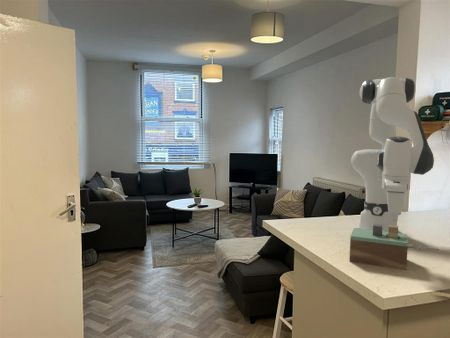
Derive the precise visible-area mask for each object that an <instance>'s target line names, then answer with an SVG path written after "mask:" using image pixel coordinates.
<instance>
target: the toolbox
mask: <svg viewBox="0 0 450 338" xmlns="http://www.w3.org/2000/svg"><path fill="white" fill-rule="evenodd" d="M349 240H350V243H349V262H350V263H356V264H357V263H358V264H364V265H370V266H378V267H384V268H389V269H396V270H403V271H407V267H408V266H407V264H408V250H409V249H408V247H407V246H399V245H391V244H383V243H375V242H368V241H360V240H352V239H349Z"/></svg>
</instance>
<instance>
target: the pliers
mask: <svg viewBox="0 0 450 338" xmlns="http://www.w3.org/2000/svg"><path fill="white" fill-rule="evenodd" d="M426 249H427V250H435V249H436V251H440V248H438V247H437V248H436V247H431V246H421V245H419V246H415V244H412V243H408V250H418V251H421V250H426Z"/></svg>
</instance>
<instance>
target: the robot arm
mask: <svg viewBox="0 0 450 338" xmlns="http://www.w3.org/2000/svg"><path fill="white" fill-rule="evenodd" d="M359 88H360V89H359V97H360V99H361V100H360V101H361V102H363V104H367V105H370V104H371V109H370V115H369V130H368V135H369V138H370V139H371V140H373V141H374V142H377V143H379V144H380V145H381V148H380V149H369V148H368V149H360V150H355V151H354V152H353V154H352V156H351V158H350V163H351V167H352V169H354V171H355V172H357V173H358V174H359V175H360V177H361V178H362V180H363V181H364V186H365V200H364V203H363V208H364V209H363V210H362V211H361V212H360V215H359V216H360V219H359V224H357V225H356V226H355V228H358V229H367V230H373V224H380V225H383V227H382V231H384V232H388V230H389V225H391V226H394V227H396V226H398V220H399V216H401V215H402V211H403V206H404V201H405V196H406V193H407V192H408V191H409V190H411V175H412V174H413V175H422V176H423V175H425V174H427V173H428V172H430V171H431V170H432V169H433V168H434V162H435V158H434V153H433V151H432V149H431V147H430V145H429V143H428V140H427V136H426V132H425V130H424V127H423V125H422V121H421V119H420V117H419V115H418V114H419V113H418V112H417V111H414V110H413V109H412V108H411V107H410V106H409V105H408V103H410V102H411V101H412V100H413V99H414V97H415V95H416V89H417V88H416V85H415V81H414V80H413V79H412V78H409V77H404V78H401V77H400V78H399V77H395V76H393V77H392V76H390V77H386V78H377V79H372V78H371V79H367V80H364V81H363V82H362V83H361V86H360V87H359ZM396 127H399V128H401V129H403V130H405V131H407V132H408V133H409V136H410V138H411V139H410V138H408V137H405V136H396V135H397V134H396V133H397V132H396V131H397V130H396ZM412 145H413V146H412ZM379 174H381V175H382V178H380V177H379Z"/></svg>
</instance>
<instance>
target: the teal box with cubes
mask: <svg viewBox="0 0 450 338" xmlns="http://www.w3.org/2000/svg"><path fill="white" fill-rule="evenodd" d="M382 227H383V225H380V224H373V230H367V229H358V228H356V227H355V228H352V231H351V235H350V239H352V240H360V241H368V242H375V243H383V244H391V245H399V246H407V247H408V244H409V242H408V241H409V240H408V233H400V232H398V239H395V238H388V232H384V231H382ZM350 239H349V240H350Z"/></svg>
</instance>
